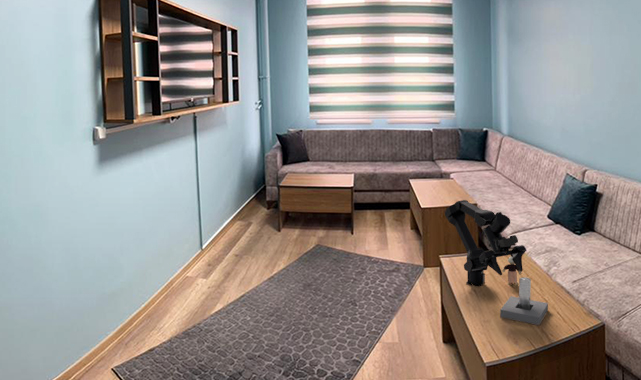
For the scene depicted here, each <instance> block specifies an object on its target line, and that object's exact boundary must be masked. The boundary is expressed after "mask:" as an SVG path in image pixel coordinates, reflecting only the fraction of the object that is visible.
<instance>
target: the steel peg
mask: <svg viewBox="0 0 641 380" xmlns="http://www.w3.org/2000/svg"><path fill="white" fill-rule="evenodd" d="M518 279H519V280H518V281H519V282H518V285H519V286H518V287H519V288H518V298H519V309H524V310H529V311H530V300H531V286H532V285H531V284H532V282H531V280H532V279H531V278H529V277H526V276H525V277H524V276H523V277H520V278H518Z"/></svg>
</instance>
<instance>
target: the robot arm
mask: <svg viewBox="0 0 641 380" xmlns="http://www.w3.org/2000/svg"><path fill="white" fill-rule="evenodd" d="M444 215H445V217H446V219H447V221H448V222H449V223H450V224H451V225H453V227H455V229H456V232H457V233H458V235H459V238H460V240H461V242H462V245H463V246H464V248H465V250H466V262H465V263H464V264H463V268H464V269H463V270H465V271H467V281H466V283H465V284H466V285H471V286H476V287H482V286H483V284H484V283H485V282H486V279H485V278H486V274H485V273H484V271H487V270H488V267H489V268H490V269H492V270H493V271H495V272H496V273H497V274H498V275H499V276H502V275H503V271H502V269H501V267H500V265H499V263H498V261H497V258H500V257H506V256H510V257H513V259H512V260H513V262H514V263H515V264H514V265H516V266H517V268H518V269H519V271H520V272H521V273H522V272H524V271H523V270H524V269H523V256H524V255H525V253H526V252H527V248H526V247H525V245H523V244H521V245H516V244H517V243H519V238H518V237H517V235H516V234H513V235H509V237H508V238H507V237H505V236H503V234H502V233H504V231H505V230H506V229H507V228H508V227H509V226H510V224H511V219H510V217H509V216H507V215H506V214H503V213H502V212H501V211H499V212H496V213H495V212H494V211H492V210H488V209H481V208H479V207H478V206H477V205H474V204H472V202H469V201H468V200H467V199H462V200H457V201H456V202H455V203H453V204H452V205H450V206H448V207H446V209H445V211H444ZM466 215H468V216H469V217H471V218H473V219H474V223H475V224H477V226H478V227H484V228H483V229H482V231H481V234H482V235H483V236H486V239H487V241H488V248H491V249H489V250H485V249H484V248H479V247H478V246H477V243H476V241H475V239H474V237H473V236H472V233H471V232H470V229H469V227H468V224H467V222H466V221H465V220H466ZM485 226H486V227H485ZM512 246H514V247H513V248H512ZM511 248H512V249H511Z"/></svg>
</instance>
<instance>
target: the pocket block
mask: <svg viewBox="0 0 641 380" xmlns="http://www.w3.org/2000/svg"><path fill="white" fill-rule="evenodd" d="M548 311H549V303H548V302H544V301H538V300H534V299H533V300H532V299H530V311H529V310H524V309H519V297H518V296H517V297H516V296H513V295H512V296H511V295H510V296H509V298H508V299H507V300H506V302H505V303H504V304H503V306H502V307H501V308H500V312H499V313H500V314H499V315H500V316H499V317H500V318H503V319H508V320H513V321H517V322H522V323H527V324H531V325H532V324H533V325H536V326H540V325H541V323H542V321H543V319H544V318H545V316H546V314H547V313H548Z"/></svg>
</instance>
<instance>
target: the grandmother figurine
mask: <svg viewBox="0 0 641 380" xmlns="http://www.w3.org/2000/svg"><path fill="white" fill-rule="evenodd" d="M512 259H513V257H511V256H509V258H508V260H507V262H508V263H509V264H506V265H505V266H503V269H502V273H505V271H507V285H508V286H512V285H513V286H518V285H519V282H518V274H519V275H521V274H522V272H520V271H519V269H518V268H517V266H516V265H515V263H514V262H513V260H512ZM517 273H518V274H517Z"/></svg>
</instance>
